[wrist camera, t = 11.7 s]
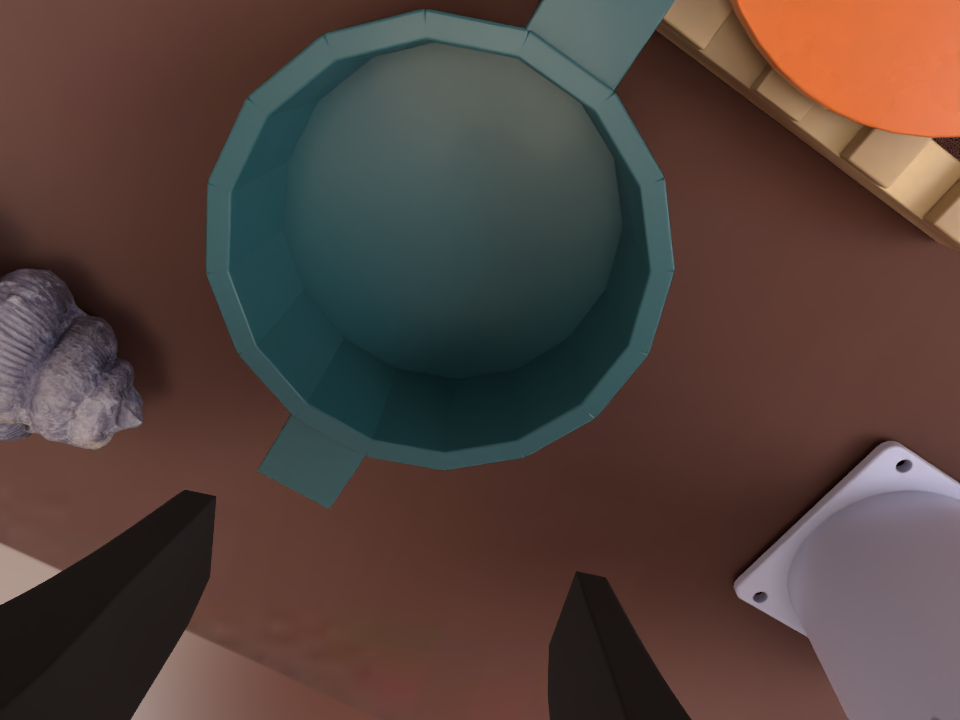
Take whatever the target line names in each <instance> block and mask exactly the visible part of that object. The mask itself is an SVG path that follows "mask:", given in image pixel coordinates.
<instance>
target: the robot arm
mask: <svg viewBox="0 0 960 720" xmlns="http://www.w3.org/2000/svg"><path fill="white" fill-rule="evenodd" d="M901 460H906V461H905V462H904V464H902V465H900V466H896V465H897V463H898V462H900V461H901ZM215 507H216V496H212V495H208V494H203V493H198V492H193V491H188V490H184V491H182V492H180V493H179V494H177V495H176V496H175V497H173V498H172V499H170V500H169V501H167V502H166V503H165V504H163V505H162V506H160V507H159V508H158V509H156V510H155V511H153V512H152V513H151V514H149V515H148V516H146V517H145V518H143V519H142V520H141V521H139V522H138V523H136V524H135V525H133V526H132V527H130V528H129V529H128V530H126V531H125V532H123V533H122V534H120V535H119V536H117V537H116V538H114V539H113V540H111V541H110V542H108V543H107V544H105V545H104V546H102V547H101V548H99V549H97V550H96V551H94V552H93V553H91V554H90V555H88V556H87V557H85V558H83V559H82V560H80V561H78V562H77V563H75V564H73V565H72V566H70V567H68V568H67V569H65V570H63V571H62V572H60V573H58V574H57V575H55V576H54V577H52V578H50V579H48V580H47V581H45V582H43V583H41V584H39V585H38V586H36V587H34V588H32V589H30V590H29V591H27V592H25V593H23V594H21V595H19V596H17V597H15V598H13V599H12V600H10V601H8V602H6V603H4V604H2V605H0V720H131V718H132V716H133V715H134V713H135V711H136V710H137V708H138V706H139V705H140V703H141V701H142V700H143V698H144V697H145V695H146V693H147V691H148V690H149V688H150V687H151V685H152V684H153V682H154V680H155V679H156V677H157V675H158V674H159V672H160V670H161V669H162V667H163V665H164V664H165V662H166V660H167V659H168V657H169V656H170V654H171V652H172V651H173V649H174V647H175V646H176V644H177V642H178V641H179V639H180V637H181V636H182V634H183V632H184V631H185V629H186V627H187V626H188V624H189V622H190V619H191V617H192V615H193V613H194V611H195V609H196V607H197V605H198V602H199V600H200V598H201V596H202V593H203V591H204V589H205V587H206V584H207V582H208V580H209V578H210V570H211V557H212V545H213V532H214V519H215ZM734 589H735V591H736V594H737V596H738V597H739V598H740V599H742V600H744V601H745V602H747V603H749V604H750V605H752V606H754V607H756V608H757V609H759V610H761V611H763V612H764V613H766V614H768V615H770V616H771V617H773V618H775V619H777V620H778V621H780V622H782V623H784V624H785V625H787V626H789V627H791V628H792V629H794V630H796V631H798V632H799V633H801V634H803V635H805V636H806V637H808V638H809V640H810V642H811V644H812V646H813V648H814V650H815V653H816V655H817V657H818V659H819V661H820V663H821V665H822V667H823V669H824V671H825V673H826V675H827V677H828V679H829V681H830V683H831V685H832V687H833V689H834V691H835V693H836V695H837V697H838V699H839V701H840V703H841V705H842V708H843V710H844V712H845V714H846V716H847V718H848V720H960V483H959V482H957V481H956V480H954V479H953V478H951V477H950V476H948V475H947V474H945V473H944V472H942V471H941V470H939V469H938V468H936V467H935V466H933V465H932V464H930V463H929V462H927V461H926V460H924V459H923V458H921V457H920V456H918V455H917V454H915V453H914V452H912V451H911V450H909V449H908V448H906V447H905V446H903V445H902V444H900V443H898V442H896V441H887V442H883V443H881V444H880V445H878V446H877V447H876V448H875V449H874V450H873V451H872V452H871V453H870V454H869V455H868V456H866V457H865V458H864V459H863V460H862V461H861V462H860V463H859V464H858V465H857V466H856V467H855V468H854V469H853V470H852V471H851V472H850V473H848V474H847V475H846V476H845V477H844V478H843V479H842V480H841V481H840V482H839V483H838V484H837V485H836V486H835V487H834V488H833V489H832V490H830V491H829V492H828V493H827V494H826V495H825V496H824V497H823V498H822V499H821V500H820V501H819V502H818V503H817V504H816V505H815V506H814V507H812V508H811V509H810V510H809V511H808V512H807V513H806V514H805V515H804V516H803V517H802V518H801V519H800V520H799V521H798V522H797V523H796V524H794V525H793V526H792V527H791V528H790V529H789V530H788V531H787V532H786V533H785V534H784V535H783V536H782V537H781V538H780V539H779V540H778V541H776V542H775V543H774V544H773V545H772V546H771V547H770V548H769V549H768V550H767V551H766V552H765V553H764V554H763V555H762V556H761V557H759V558H758V559H757V560H756V561H755V562H754V563H753V564H752V565H751V566H750V567H749V568H748V569H747V570H746V571H745V572H744V573H743V574H741V575H740V576H739V577H738V578H737V579H736V581H735V582H734ZM758 592H763V593H761V594H759V595H755V594H756V593H758ZM548 703H549V714H550V720H691V718H690V717H689V716H688V714H687V713H686V711H685V710H684V708H683V707H682V706H681V704H680V703H679V701H678V700H677V698H676V697H675V695H674V694H673V692H672V691H671V689H670V688H669V686H668V685H667V683H666V681H665V680H664V678H663V677H662V675H661V674H660V672H659V670H658V669H657V667H656V665H655V664H654V662H653V660H652V659H651V657H650V655H649V654H648V652H647V650H646V649H645V647H644V645H643V644H642V642H641V640H640V638H639V637H638V635H637V633H636V631H635V629H634V628H633V626H632V624H631V622H630V620H629V619H628V617H627V615H626V613H625V611H624V610H623V608H622V606H621V604H620V602H619V600H618V598H617V597H616V595H615V593H614V591H613V589H612V587H611V585H610V584H609V582H608V580H607V579H606V577H601V576H596V575H591V574H586V573H582V572H577V571H576V573H575V576H574V579H573V581H572V584H571V587H570V590H569V592H568V595H567V598H566V601H565V603H564V606H563V609H562V612H561V614H560V617H559V620H558V622H557V625H556V628H555V631H554V633H553V636H552V639H551V642H550V644H549V666H548Z"/></svg>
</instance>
